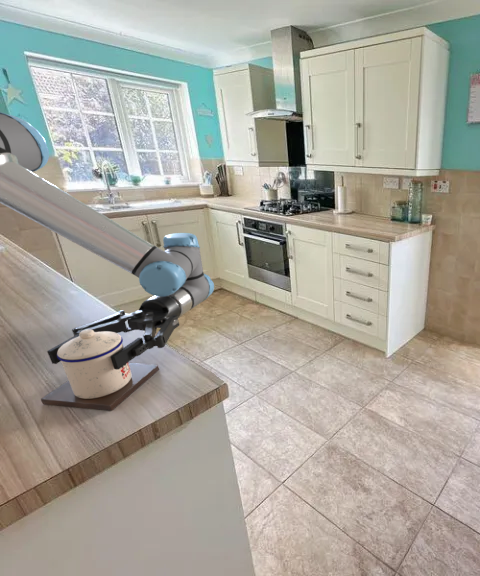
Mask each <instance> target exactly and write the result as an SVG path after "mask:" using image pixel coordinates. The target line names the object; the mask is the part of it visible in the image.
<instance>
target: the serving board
mask: <svg viewBox="0 0 480 576" xmlns="http://www.w3.org/2000/svg"><path fill="white" fill-rule="evenodd" d="M128 364H129V367H130V371H131V374H132V376H131V379H130V381H129V382H128V383H127V384H126V385H125V386H124V387H122V388H121V389H119V390H117V391H115V392H113V393H111V394H108V395H106V396H102V397H98V398H92V399H83V398H79V397H77V396H75V394H74V393H73V390H72V388H71V385H70V382H69V380H68V379H67V381H65V382H64V383H63V384H61V385H60V386H58V387H57V388H55V389H54V390H52V391H50V392H49V393H47V394H46V395H45V396H43V397H42V398H40V401H41V404H42V405H49V406H59V407H69V408H80V409H87V410H88V409H90V410H99V411H100V410H101V411H109V412H111V411H113V410H114V409H116V408H117V407H118V406H119V405H120V404H122V403H123V402H124V401H126V399H127V398H129V397H130V396H131V395H132V394H133V393H134V392H135V391H136V390H138V389H139V388H140V387H141V386H143V384H145V383H146V382H147V381H148V380H149V379H151V377H153V376H154V375H155V374H156V373H158V371H160V368H159V367H160V366H159V365H158V364H150V363H138V362H137V363H136V362H128Z"/></svg>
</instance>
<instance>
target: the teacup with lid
mask: <svg viewBox="0 0 480 576" xmlns="http://www.w3.org/2000/svg"><path fill="white" fill-rule="evenodd" d="M123 342H124V339H123V337H122V336H121V335H120V334H119V333H115V332H109V331H103V332H94V331H93V330H91V329H87V330H83V331H81V332H80V333H79V336H78V337H76V338H74V339H72V340H70V341H68V342H66V343H65V344H63V345H62V346H61V347H60V348H59V350H58V352H57V358H58V359H59V360H61V361H60V362H61V365H62V367H63V370H64V373H65V375H66V378H67V381H68V380H69V382H70V385H71V388H72V390H73V393H74V394H75V396H77V397H79V398H83V399H92V398H98V397H102V396H106V395H108V394H111V393H113V392H115V391H117V390H119V389H121V388H122V387H124V386H125V385H126V384H127V383H128V382H129V381H130V379H131V376H132V374H131V371H130V367H129V364H128V363H129V362H128V363H127V364H125V365H124V366H123V367H121V368H120V369H119V370H118V369H114V366H113V363H112V360H111V356H112V355H114V354H115V353H117V352H118V351H120V350H121V349H123V348H124V347H125V346H124V345H123Z"/></svg>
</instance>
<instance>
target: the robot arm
mask: <svg viewBox="0 0 480 576" xmlns="http://www.w3.org/2000/svg"><path fill="white" fill-rule="evenodd" d="M49 158H50V150H49V148H48V144H47V142H46V139H45V138H44V137H43V135H42V134H41V133H40V131H39V130H38V129H37V128H36V127H34V126H33V125H32V124H31V123H29V122H27V121H26V120H24V119H22V118H21V117H18V116H16V115H12V114H8V113H5V112H1V111H0V204H1V205H3V206H5V207H7V208H9V209H11V210H13V211H15V212H16V213H18V214H20V215H22V216H23V217H26V218H28V219H29V220H32V221H33V222H35V223H37V224H39V225H40V226H42V227H44V228H46V229H48V230H50V231H52V232H54V233H55V234H57V235H59V236H61V237H63V238H65V239H66V240H68V241H71V242H72V243H74V244H76V245H78V246H79V247H81V248H83V249H85V250H87V251H89V252H91V253H93V254H95V255H96V256H98V257H100V258H102V259H104V260H105V261H107V262H109V263H111V264H113V265H114V266H117V267H119V268H120V269H122V270H124V271H126V272H128V273H130V274H131V275H134V276H135V277H137V278H138V282H139V285H140V286H141V288H142V289H144V291H145V293H148V294H149V295H152V296H151V297H149V298H147V299H146V300H144V301H143V302H141V304H140V307H138V310H136V311H134V312H133V311H132V312H130V313H126V312H125V310H123V309H122V310H118V311H116V312H115V313H113V314H111V315H108V316H104V317H101V318H100V319H96V320H94V321H91V322H88V323H85V324H83V325H79V326H77V327H74V328H72V329H71V331H72V335H73V336H72V337H69V338H68V339H66V340H65V341H63V342H61V343H59V344H56V346H54V347H52V348H50V349H49V350H47V351H46V352H47V355H48V357H49V359H50V361H51V364H52V365H57V364H59V363H60V362H61V360H59V359H58V358H57V352H58V350H59V348H60V347H61V346H62V345H63V344H65V343H66V342H68V341H70V340H72V339H74V338H76V337H78V336H79V333H80V332H81V331H83V330H87V329H91V330H93V331H94V332H103V331H109V332H115V333H117V334H119V333H125V334H127V333H130V332H133V331H142V332H144V334H142V336H143V338H142V337H137V338H135V339H134V340H132V341H131V342H130V343H128V344H127V345H126V346H123V347H124V348H123V349H121V350H120V351H118V352H117V353H115V354H114V355H112V356H111V360H112V363H113V366H114V369H118V370H119V369H120V368H121V367H123V366H124V365H125V364H127V363H130V362H131V361H132V360H133V359H134V358H136V357H138V356H141V355H142V354H144V353H145V352H146V351H147V350H151V349H154V347H157V348H158V349H163V348H165V346H166V345H167V343H168V341H169V340H170V338H171V336H172V334H173V332H174V330H175V329H177V328H178V327H179V326H180V321H179V320H180V318H181V317H183V315H185V314H186V313H188V312H190V311H191V310H192V309H194V308H195V307H197V306H198V305H200V304H201V303H203V302H205V301H206V300H207V299H208V298H209V297H210V296H211V295H212V294H213V293H214V290H215V284H214V281H213V280H212V279H211V277H210V276H209V274H206V273H204V267H203V261H202V256H201V246H200V245H199V241H198V237H197V235H196V234H194V233H192V232H191V233H189V232H176V233H170V234H166V235H165V236H164V237H163V239H162V242H163V245H162V246H163V249H164V250H163V249H161V248H159V247H158V246H156V245H155V244H153V243H151V242H150V241H148V240H146V239H144V238H142V237H141V236H139V235H138V234H136V233H134V232H133V231H131V230H130V229H127V228H126V227H124V226H123V225H121V224H119V222H116V221H115V220H113V219H110V218H109V217H107V216H106V215H104V213H103V214H102V213H101V212H99V211H97V210H96V209H94V208H93V207H91V206H90V205H87V204H86V203H84V202H82V201H81V200H79V199H78V198H75V196H72V195H71V194H69V193H67V192H65V191H64V190H62V189H61V188H59V187H58V186H56V185H54V184H53V183H51V182H49V181H47V180H45V179H44V178H42V177H41V176H39V175H37V174H36V173H34V172H37V171H38V170H40V169H42V168H44V167H45V166H46V165H47V163H48V161H49ZM126 322H127V324H126ZM127 325H128V327H127ZM158 329H159V330H158ZM157 330H158V332H157Z"/></svg>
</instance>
